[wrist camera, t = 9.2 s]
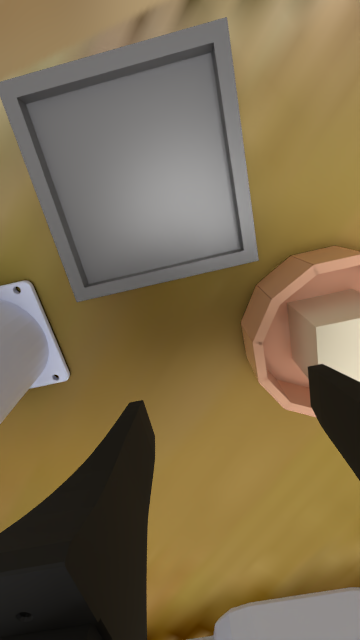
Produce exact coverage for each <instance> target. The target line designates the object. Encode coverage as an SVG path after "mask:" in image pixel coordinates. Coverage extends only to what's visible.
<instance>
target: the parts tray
mask: <svg viewBox="0 0 360 640" xmlns="http://www.w3.org/2000/svg"><path fill="white" fill-rule="evenodd" d="M0 97H1V100H2V103H3V105H4V108H5V111H6V113H7V116H8V119H9V121H10V124H11V127H12V129H13V132H14V135H15V137H16V140H17V143H18V146H19V148H20V151H21V154H22V156H23V159H24V162H25V164H26V167H27V170H28V172H29V175H30V178H31V180H32V183H33V186H34V188H35V191H36V194H37V197H38V199H39V202H40V205H41V207H42V210H43V213H44V215H45V218H46V221H47V223H48V226H49V229H50V231H51V234H52V237H53V239H54V242H55V245H56V248H57V250H58V253H59V256H60V258H61V261H62V264H63V266H64V269H65V272H66V274H67V277H68V280H69V282H70V285H71V288H72V290H73V293H74V296H75V299H76V301H77V302H80V301H84V300H88V299H93V298H97V297H101V296H106V295H110V294H115V293H119V292H123V291H128V290H132V289H136V288H141V287H145V286H150V285H154V284H158V283H163V282H167V281H171V280H176V279H180V278H185V277H189V276H193V275H198V274H202V273H206V272H211V271H215V270H219V269H224V268H228V267H233V266H237V265H241V264H246V263H250V262H254V261H259V259H258V252H257V244H256V236H255V229H254V221H253V213H252V206H251V198H250V190H249V183H248V175H247V167H246V160H245V152H244V145H243V137H242V129H241V122H240V114H239V106H238V99H237V91H236V83H235V76H234V68H233V60H232V53H231V45H230V37H229V30H228V22H227V17H225V18H222V19H218V20H215V21H211V22H208V23H204V24H201V25H197V26H194V27H190V28H187V29H183V30H180V31H176V32H173V33H169V34H166V35H162V36H159V37H155V38H152V39H148V40H145V41H141V42H138V43H134V44H131V45H127V46H124V47H120V48H117V49H113V50H110V51H106V52H103V53H99V54H96V55H92V56H89V57H85V58H82V59H78V60H75V61H71V62H68V63H64V64H61V65H57V66H54V67H50V68H47V69H43V70H40V71H36V72H33V73H29V74H26V75H22V76H19V77H15V78H12V79H8V80H5V81H1V82H0Z"/></svg>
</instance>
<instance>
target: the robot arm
mask: <svg viewBox="0 0 360 640" xmlns="http://www.w3.org/2000/svg"><path fill="white" fill-rule="evenodd" d="M16 287H19V288H20V289H21V292H18V291H17V290H16ZM54 375H58V376H59V378H57V377H55V376H54ZM69 377H70V372H69V370H68V367H67V365H66V363H65V360H64V358H63V355H62V353H61V351H60V348H59V346H58V344H57V341H56V339H55V336H54V334H53V332H52V329H51V327H50V324H49V322H48V320H47V317H46V315H45V313H44V310H43V308H42V305H41V303H40V301H39V298H38V296H37V294H36V291H35V289H34V286H33V285H32V283H31V282H29V281H27V280H23V281H19V282H14V283H10V284H6V285H2V286H0V424H1V423H2V421H3V420H4V419H5V418H6V416H7V415H8V414H9V413H10V411H11V410H12V409H13V408H14V407H15V405H16V404H17V403H18V402H19V400H20V399H21V398H22V397H23V396H24V394H25V393H26V392H27V391H28V389H30V388H35V387H40V386H45V385H49V384H54V383H59V382H64V381H66V380H68V378H69ZM308 379H309V391H310V403H311V407H312V409H313V411H314V413H315V415H316V417H317V419H318V421H319V423H320V424H321V426H322V428H323V429H324V431H325V432H326V434H327V435H328V436H329V438H330V439H331V441H332V442H333V444H334V445H335V446H336V448H337V449H338V451H339V452H340V453H341V455H342V456H343V458H344V459H345V460H346V462H347V463H348V465H349V466H350V467H351V469H352V470H353V472H354V473H355V474H356V476H357V477H358V479H359V480H360V382H359V381H357V380H355V379H353V378H351V377H349V376H347V375H345V374H343V373H340V372H338V371H336V370H334V369H332V368H330V367H328V366H326V365H324V364H319V365H314V366H309V367H308ZM154 462H155V435H154V432H153V429H152V426H151V423H150V420H149V417H148V414H147V411H146V408H145V405H144V402H143V400H141V401H136V402H131V403H129V404H128V406H127V407H126V409H125V410H124V411H123V413H122V414H121V416H120V417H119V419H118V420H117V421H116V423H115V424H114V426H113V427H112V428H111V430H110V431H109V433H108V434H107V435H106V437H105V438H104V439H103V440H102V442H101V443H100V444H99V445H98V447H97V448H96V449H95V450H94V452H93V453H92V454H91V455H90V456H89V458H88V459H87V460H86V461H85V462H84V463H83V464H82V465H81V466H80V467H79V468H78V469H77V470H76V471H75V472H74V473H73V474H72V475H71V476H70V477H69V478H68V479H67V480H66V481H65V482H64V483H63V484H62V485H61V486H60V487H59V488H57V489H56V490H55V491H54V492H53V493H52V494H51V495H50V496H49V497H47V498H46V499H45V500H44V501H43V502H41V503H40V504H39V505H38V506H36V507H35V508H34V509H33V510H31V511H30V512H29V513H28V514H26V515H25V516H24V517H22V518H21V519H20V520H18V521H17V522H15V523H14V524H12V525H11V526H10V527H8V528H7V529H5V530H4V531H2V532H1V533H0V640H147V610H146V573H147V526H148V512H149V504H150V495H151V487H152V479H153V471H154ZM188 640H360V588H344V589H337V590H331V591H324V592H318V593H311V594H304V595H298V596H291V597H285V598H278V599H271V600H265V601H258V602H252V603H248V604H244V605H241V606H238V607H235V608H232V609H230V610H229V611H228V612H226V613H225V614H224V615H223V616H222V617H221V618H219V619H218V621H217V622H216V624H215V629H214V636H209V637H202V638H195V639H188Z"/></svg>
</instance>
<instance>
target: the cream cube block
mask: <svg viewBox="0 0 360 640" xmlns="http://www.w3.org/2000/svg"><path fill="white" fill-rule="evenodd" d="M287 308H288V319H289V329H290V340H291V351H292V359H293V360H294V361H295V363H296V364H297V365H298V367H299V368H300V369H301V370H302V372H303V373H304V374H305V376H306V377H307V378H308V367H309V366H314V365H319V364H324V365H326V366H328V367H330V368H332V369H334V370H336V371H338V372H340V373H343V374H345V375H347V376H349V377H351V378H353V379H355V380H357V381H359V382H360V292H359V291H356V290H354V289H349V290H344V291H340V292H335V293H330V294H326V295H321V296H316V297H311V298H307V299H302V300H297V301H293V302H288V303H287Z"/></svg>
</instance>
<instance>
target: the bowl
mask: <svg viewBox="0 0 360 640" xmlns="http://www.w3.org/2000/svg"><path fill="white" fill-rule="evenodd" d="M349 289H354V290H356V291H359V292H360V251H356V250H351V249H347V248H343V247H338V246H331V247H327V248H322V249H318V250H313V251H309V252H305V253H300V254H296V255H291V256H290V257H289V258H287V259H286V260H285V261H284V262H283V263H281V264H280V265H279V266H278V267H277V268H275V269H274V270H273V271H272V272H271V273H270V274H268V275H267V276H266V277H265V278H264V279H262V280H261V281H260V282H259V283H258V284H256V286H255V289H254V291H253V294H252V296H251V299H250V301H249V303H248V306H247V308H246V311H245V313H244V316H243V318H242V321H241V327H242V333H243V339H244V345H245V351H246V357H247V359H248V361H249V363H250V365H251V367H252V369H253V371H254V373H255V375H256V378H257V380H258V382H259V383H260V384H261V385H262V386H263V387H264V388H265V389H266V390H267V391H268V392H269V393H270V394H271V395H272V396H273V398H274V399H275V400H276V401H277V402H278V403H279V404H280V405H281V406H282V407H283V408H284V409H286V410H290V411H294V412H298V413H302V414H306V415H310V416H314V417H316V415H315V413H314V411H313V409H312V407H311V403H310V391H309V379H308V378H307V377H306V376H305V374H304V373H303V372H302V370H301V369H300V368H299V367H298V365H297V364H296V363H295V361H294V360H293V359H292V351H291V340H290V329H289V319H288V308H287V303H288V302H293V301H297V300H302V299H307V298H311V297H316V296H321V295H326V294H330V293H335V292H340V291H344V290H349Z"/></svg>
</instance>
